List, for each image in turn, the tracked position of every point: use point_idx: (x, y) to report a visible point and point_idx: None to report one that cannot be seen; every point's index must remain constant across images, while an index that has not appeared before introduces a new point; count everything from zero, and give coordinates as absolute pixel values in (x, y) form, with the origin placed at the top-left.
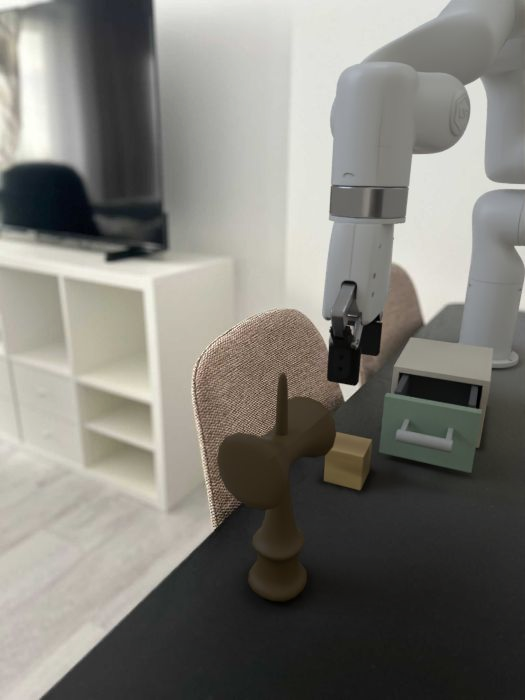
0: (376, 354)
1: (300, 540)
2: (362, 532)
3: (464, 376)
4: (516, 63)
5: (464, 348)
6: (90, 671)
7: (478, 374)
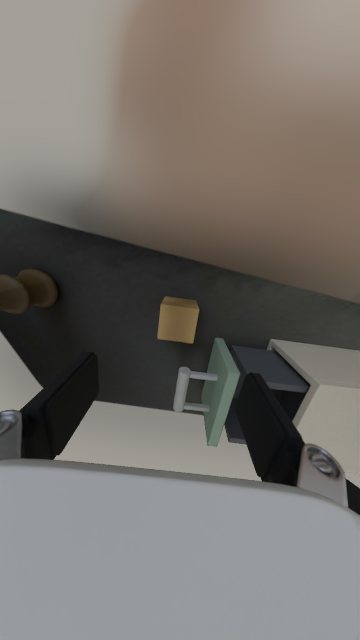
0: (235, 410)
1: (10, 311)
2: (114, 331)
3: None
4: None
5: None
6: None
7: None
